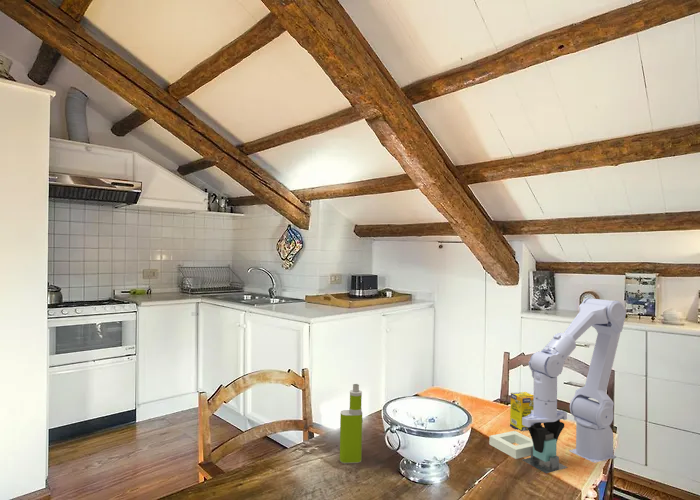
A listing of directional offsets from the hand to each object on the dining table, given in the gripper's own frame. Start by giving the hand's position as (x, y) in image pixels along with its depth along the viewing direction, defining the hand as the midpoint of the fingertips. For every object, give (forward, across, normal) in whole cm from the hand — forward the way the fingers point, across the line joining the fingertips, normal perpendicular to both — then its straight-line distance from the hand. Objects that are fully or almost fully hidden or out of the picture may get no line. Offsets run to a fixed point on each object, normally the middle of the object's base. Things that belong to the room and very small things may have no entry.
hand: (544, 449), depth 115 cm
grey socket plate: (+4, 0, 0) cm, 4 cm away
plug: (+2, 0, 0) cm, 2 cm away
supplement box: (+4, -15, -21) cm, 26 cm away
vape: (+4, +46, -23) cm, 52 cm away
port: (+4, 0, -10) cm, 11 cm away
